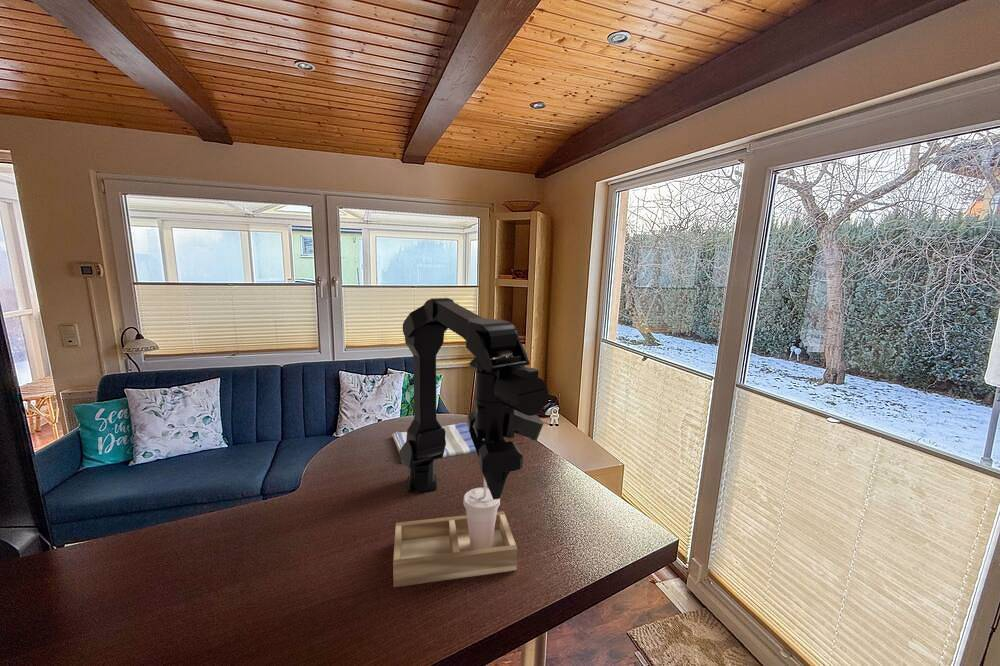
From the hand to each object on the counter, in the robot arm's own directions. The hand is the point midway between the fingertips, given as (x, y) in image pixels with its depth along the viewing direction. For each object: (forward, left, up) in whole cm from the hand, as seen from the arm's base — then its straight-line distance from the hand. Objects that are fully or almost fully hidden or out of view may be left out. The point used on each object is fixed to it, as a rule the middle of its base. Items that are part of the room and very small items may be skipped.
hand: (491, 483), depth 70 cm
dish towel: (-45, -7, -14) cm, 48 cm away
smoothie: (0, -2, -12) cm, 12 cm away
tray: (0, -6, -13) cm, 15 cm away
